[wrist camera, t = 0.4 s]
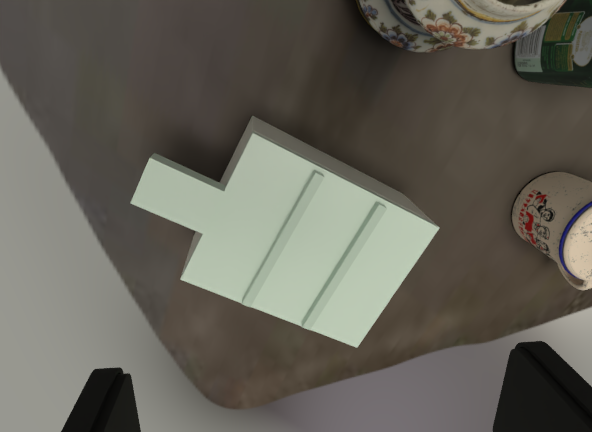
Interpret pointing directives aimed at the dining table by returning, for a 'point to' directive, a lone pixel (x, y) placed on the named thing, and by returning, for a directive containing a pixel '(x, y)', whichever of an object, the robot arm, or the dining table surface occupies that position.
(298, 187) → the lid
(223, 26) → the dining table surface
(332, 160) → the tub
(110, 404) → the robot arm
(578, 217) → the teacup with lid
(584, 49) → the coffee jar
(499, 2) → the apothecary jar
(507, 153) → the dining table surface
